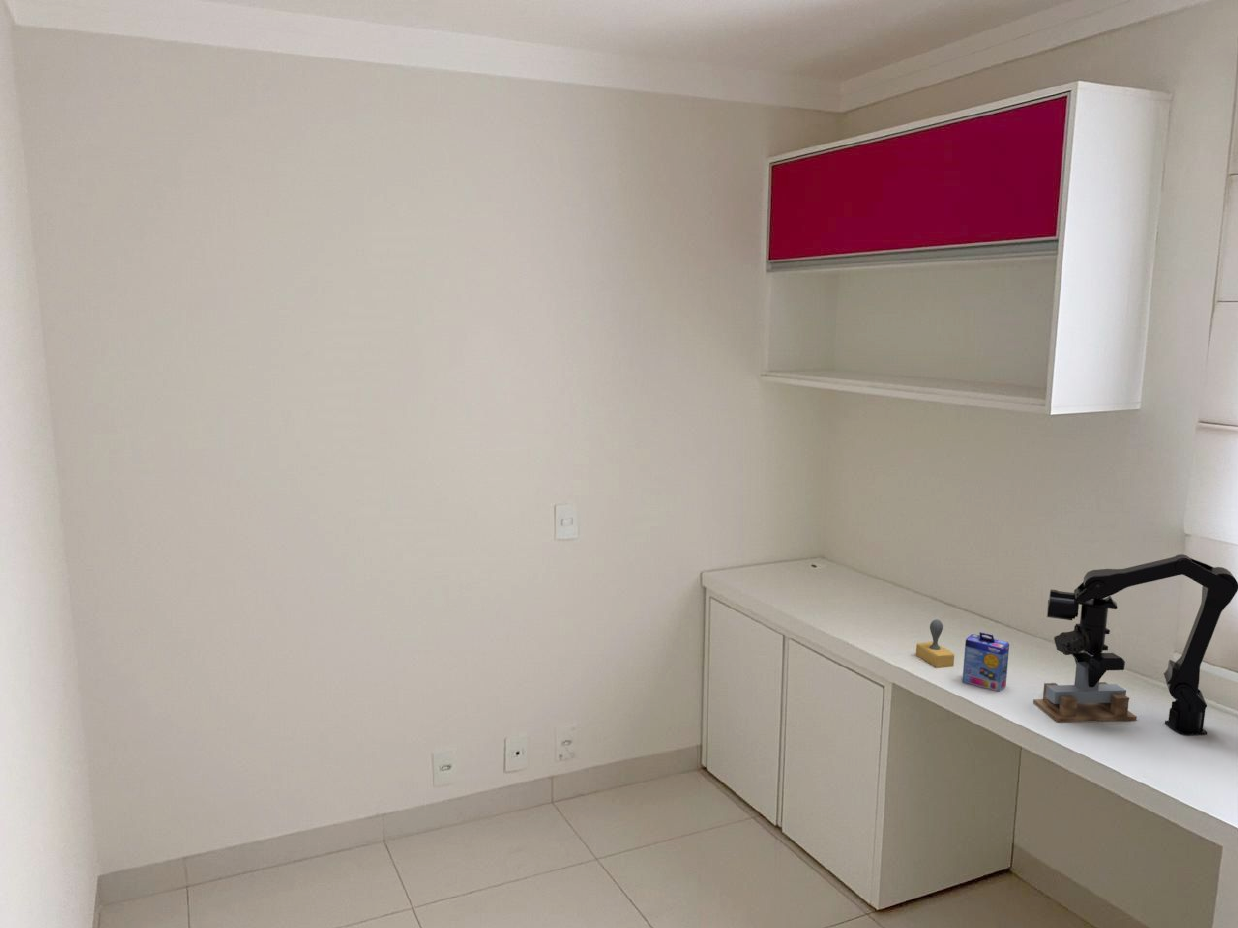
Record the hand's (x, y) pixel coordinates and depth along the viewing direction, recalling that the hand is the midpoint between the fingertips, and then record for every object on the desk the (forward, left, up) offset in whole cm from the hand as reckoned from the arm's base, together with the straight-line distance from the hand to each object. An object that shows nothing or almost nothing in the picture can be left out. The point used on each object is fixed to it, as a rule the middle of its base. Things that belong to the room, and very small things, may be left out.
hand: (1086, 683), depth 226 cm
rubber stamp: (+23, -35, -8) cm, 42 cm away
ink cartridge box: (+17, -18, -7) cm, 26 cm away
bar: (0, 0, -4) cm, 4 cm away
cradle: (0, 0, -7) cm, 7 cm away
